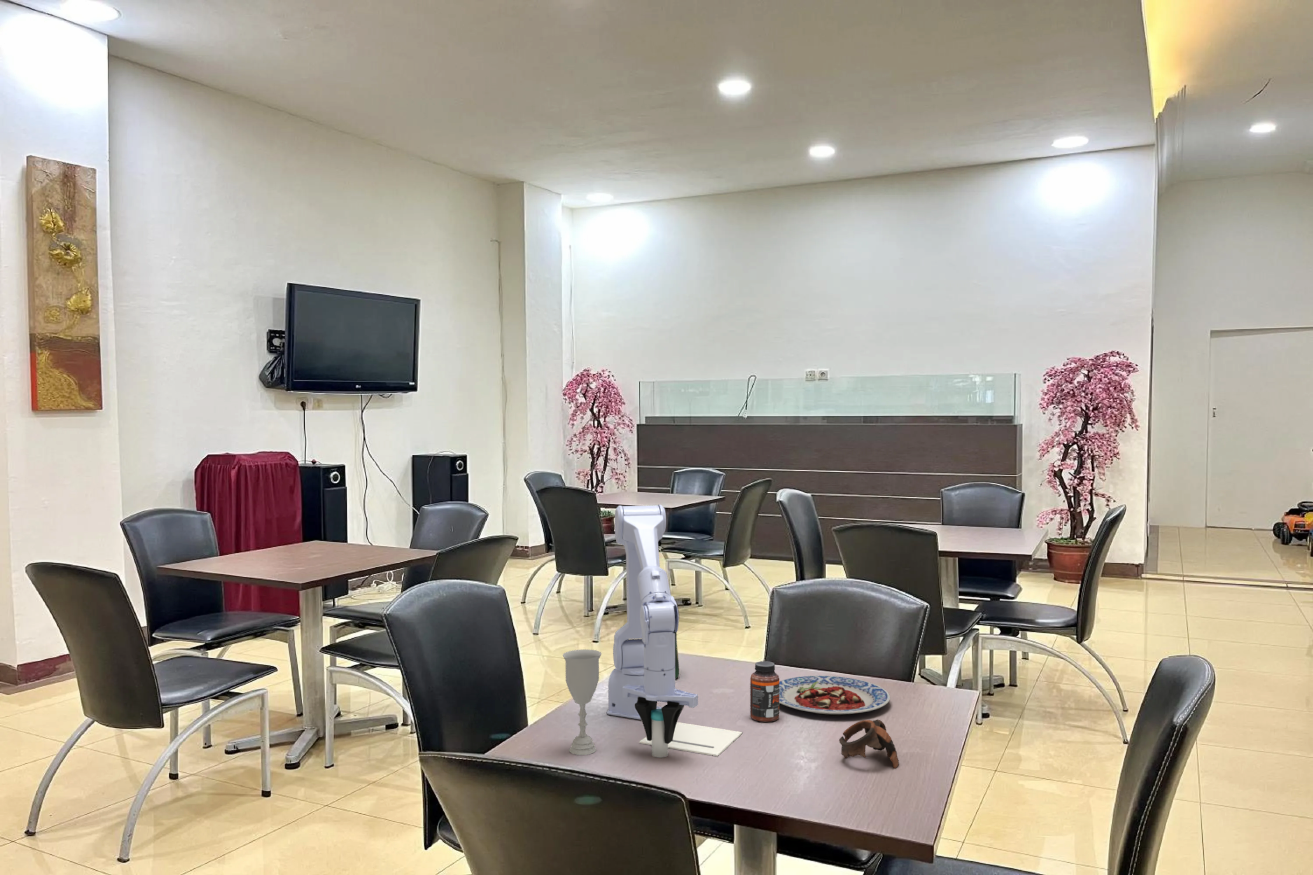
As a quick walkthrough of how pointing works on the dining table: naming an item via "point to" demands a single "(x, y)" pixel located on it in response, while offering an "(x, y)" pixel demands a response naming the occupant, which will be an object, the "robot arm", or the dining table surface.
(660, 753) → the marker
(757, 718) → the supplement bottle
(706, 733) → the paper
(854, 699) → the ceramic plate
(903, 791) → the dining table surface
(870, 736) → the brown curved ring piece
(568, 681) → the chalice
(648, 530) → the robot arm
